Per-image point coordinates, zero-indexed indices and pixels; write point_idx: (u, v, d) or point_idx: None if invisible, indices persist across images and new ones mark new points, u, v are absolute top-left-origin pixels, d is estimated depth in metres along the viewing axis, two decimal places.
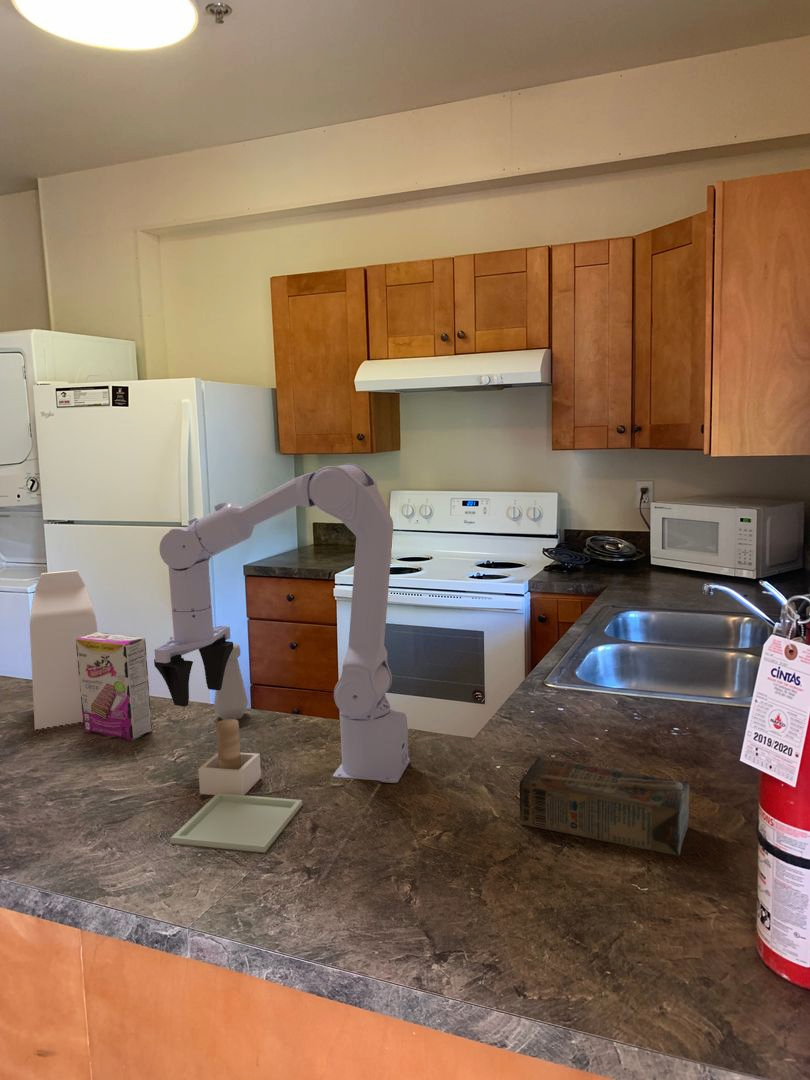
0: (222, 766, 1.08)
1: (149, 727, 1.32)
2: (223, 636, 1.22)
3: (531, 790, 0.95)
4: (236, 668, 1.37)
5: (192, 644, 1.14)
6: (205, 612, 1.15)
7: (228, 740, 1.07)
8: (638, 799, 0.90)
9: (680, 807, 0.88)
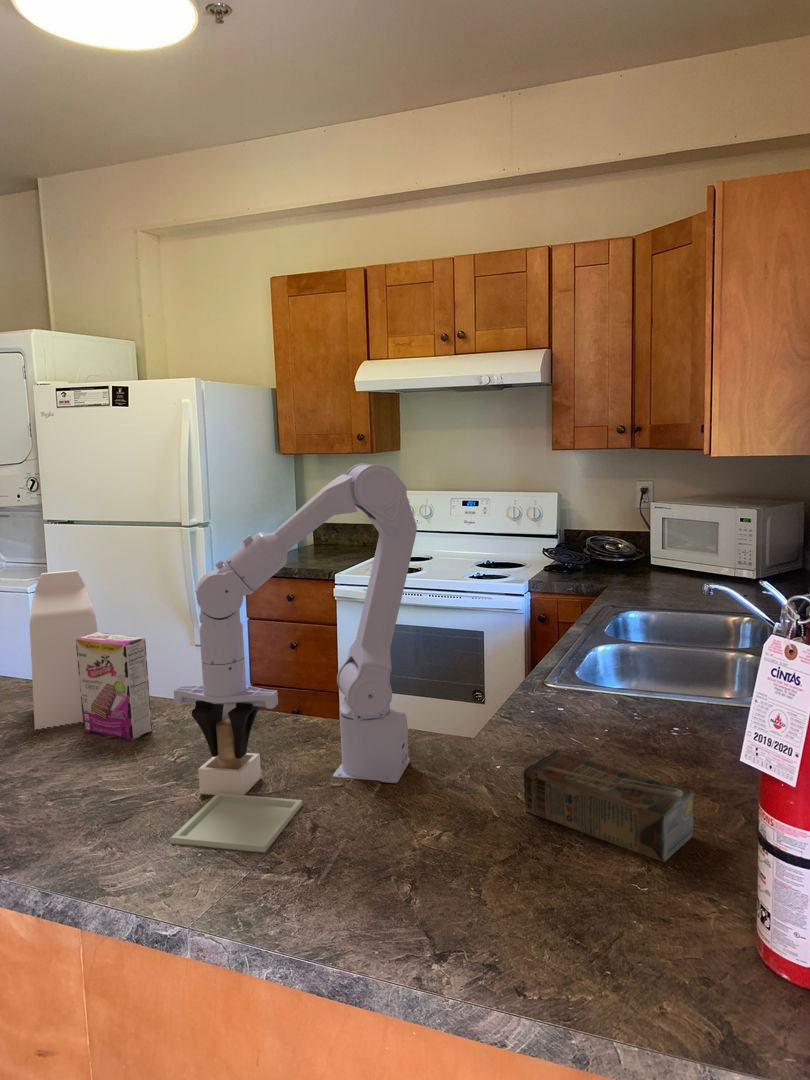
0: (222, 766, 1.08)
1: (149, 727, 1.32)
2: None
3: (533, 779, 0.98)
4: None
5: (198, 695, 1.06)
6: (211, 667, 1.05)
7: (228, 740, 1.07)
8: (628, 800, 0.90)
9: (666, 813, 0.87)
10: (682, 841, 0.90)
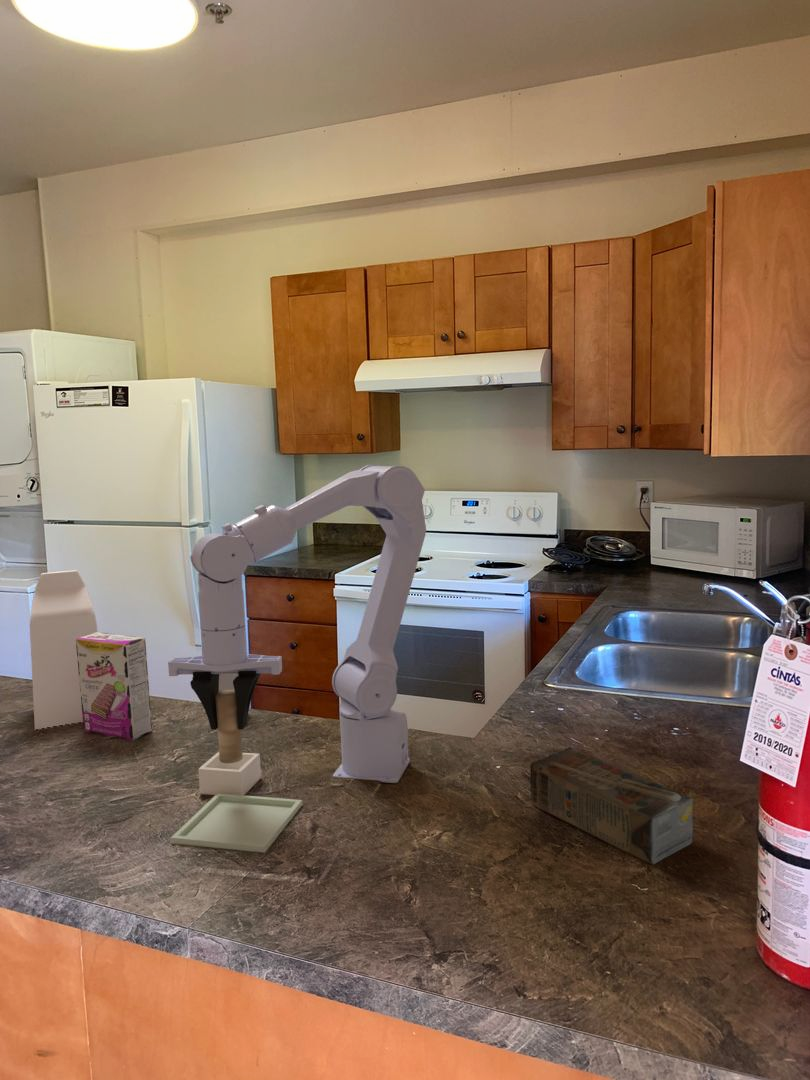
0: (223, 739, 1.03)
1: (149, 727, 1.32)
2: (271, 669, 1.02)
3: (538, 773, 1.00)
4: None
5: (198, 665, 1.01)
6: (214, 634, 1.00)
7: (231, 710, 1.02)
8: (622, 800, 0.90)
9: (656, 816, 0.86)
10: (678, 846, 0.89)
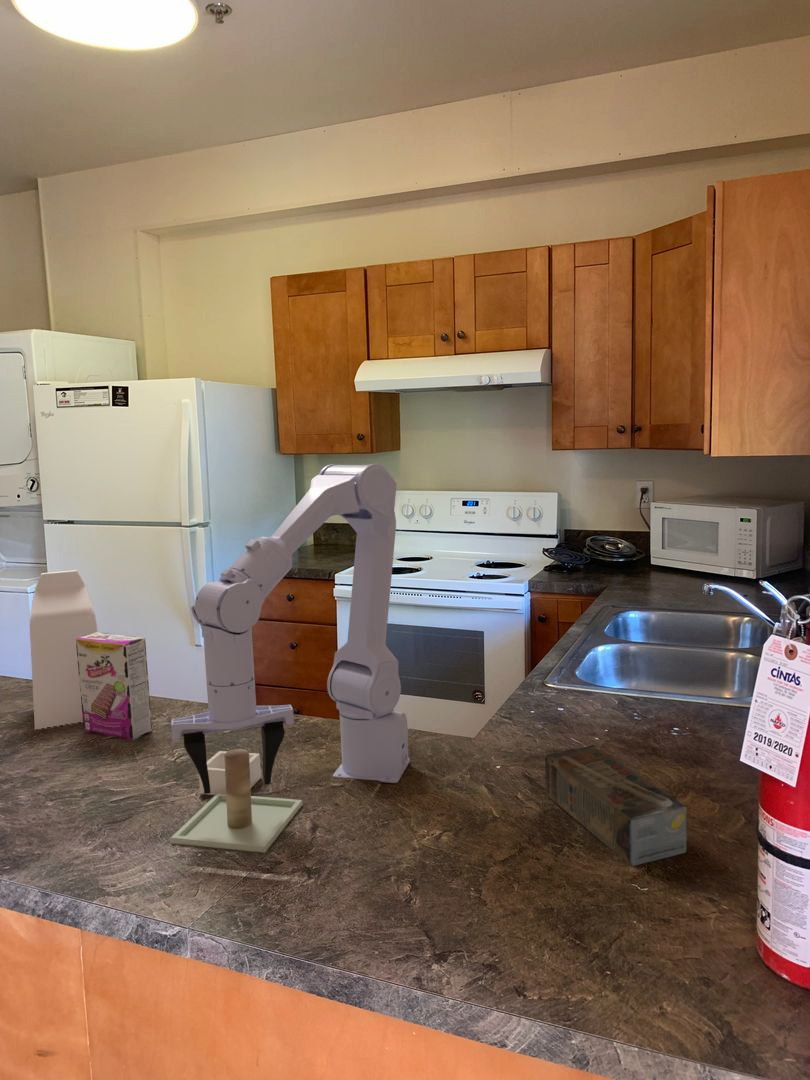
0: (236, 803, 0.96)
1: (149, 727, 1.32)
2: (284, 719, 0.98)
3: (550, 765, 1.02)
4: None
5: (209, 724, 0.94)
6: (229, 689, 0.93)
7: (244, 772, 0.96)
8: (612, 799, 0.91)
9: (636, 818, 0.86)
10: (666, 853, 0.88)
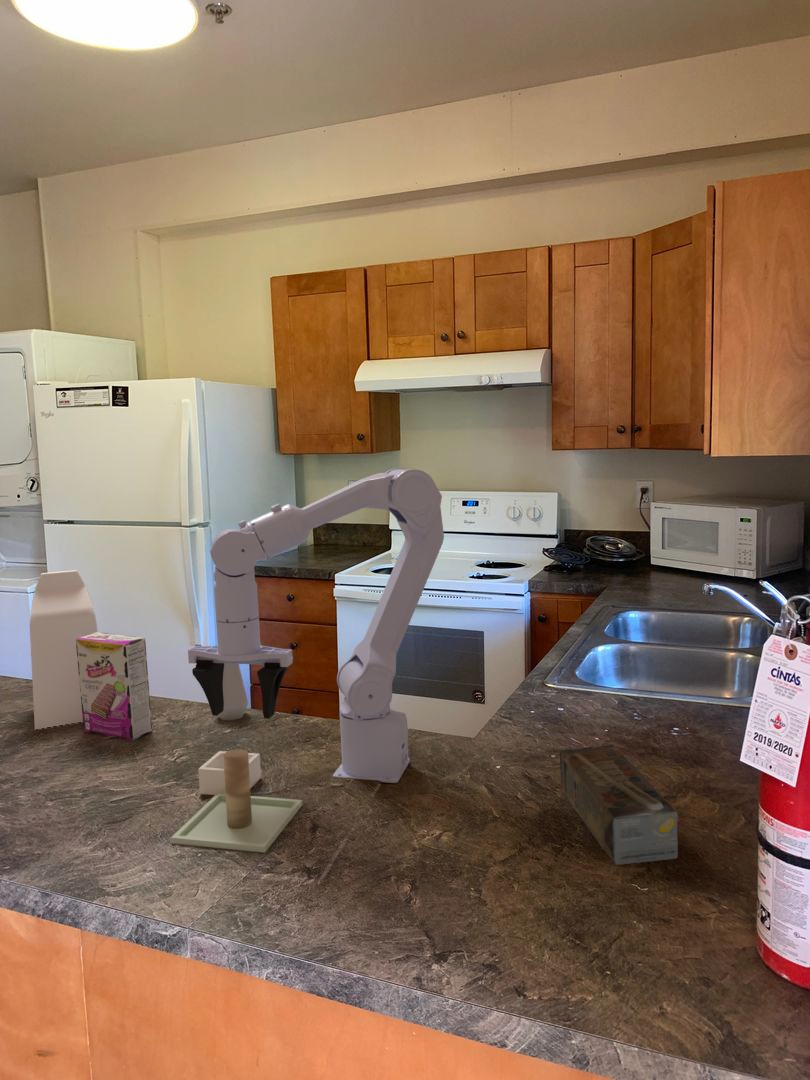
0: (236, 803, 0.96)
1: (149, 727, 1.32)
2: None
3: (562, 761, 1.03)
4: (236, 668, 1.37)
5: (212, 654, 1.06)
6: (225, 625, 1.04)
7: (244, 772, 0.96)
8: (604, 797, 0.91)
9: (619, 817, 0.86)
10: (654, 856, 0.87)
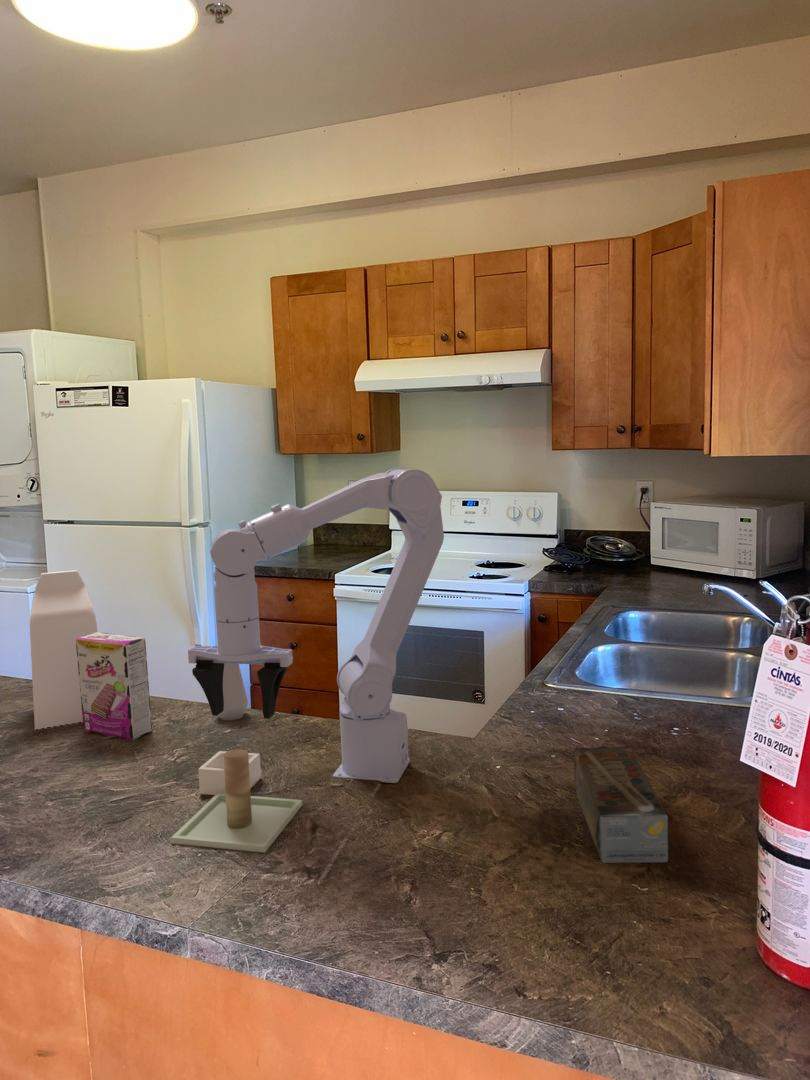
0: (236, 803, 0.96)
1: (149, 727, 1.32)
2: None
3: (574, 758, 1.04)
4: (236, 668, 1.37)
5: (212, 654, 1.06)
6: (225, 625, 1.04)
7: (244, 772, 0.96)
8: (599, 796, 0.91)
9: (606, 815, 0.87)
10: (642, 857, 0.87)
